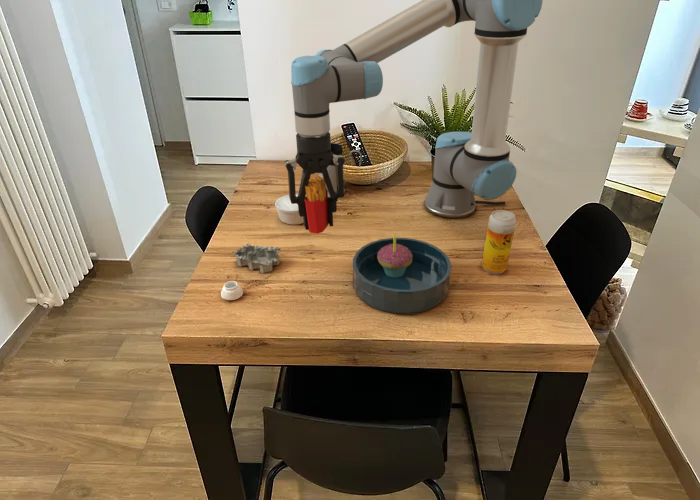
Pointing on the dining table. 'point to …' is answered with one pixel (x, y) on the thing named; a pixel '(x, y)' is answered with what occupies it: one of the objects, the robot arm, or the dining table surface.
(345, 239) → the dining table surface
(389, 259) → the cupcake
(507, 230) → the beer can
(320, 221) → the french fries
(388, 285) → the bowl
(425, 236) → the dining table surface
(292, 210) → the ramekin
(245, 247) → the egg carton
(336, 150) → the glass holder
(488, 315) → the dining table surface
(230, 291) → the lidless jar
